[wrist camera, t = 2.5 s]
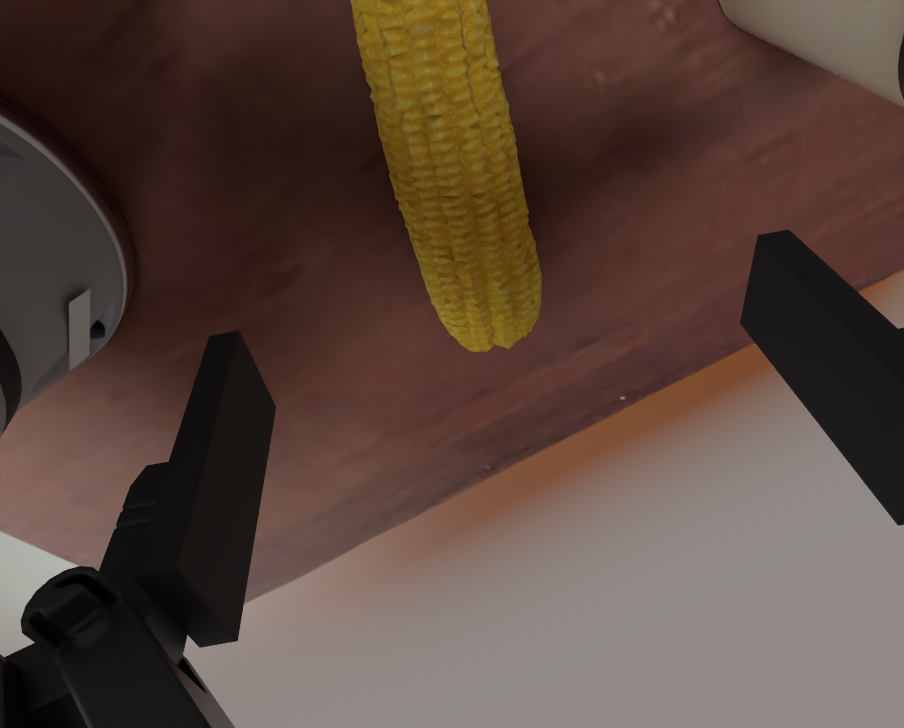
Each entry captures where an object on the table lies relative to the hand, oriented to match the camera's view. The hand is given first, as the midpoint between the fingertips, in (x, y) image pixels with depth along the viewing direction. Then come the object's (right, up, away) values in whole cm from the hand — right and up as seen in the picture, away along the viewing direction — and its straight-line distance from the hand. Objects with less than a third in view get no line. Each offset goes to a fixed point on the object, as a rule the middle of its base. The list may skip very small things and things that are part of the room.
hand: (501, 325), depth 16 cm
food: (-2, +10, +12) cm, 16 cm away
